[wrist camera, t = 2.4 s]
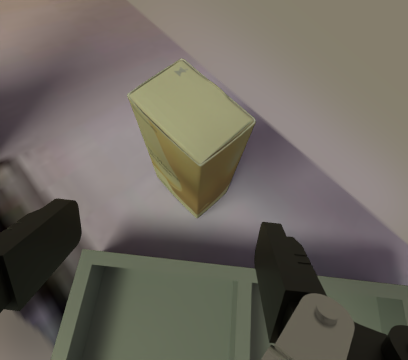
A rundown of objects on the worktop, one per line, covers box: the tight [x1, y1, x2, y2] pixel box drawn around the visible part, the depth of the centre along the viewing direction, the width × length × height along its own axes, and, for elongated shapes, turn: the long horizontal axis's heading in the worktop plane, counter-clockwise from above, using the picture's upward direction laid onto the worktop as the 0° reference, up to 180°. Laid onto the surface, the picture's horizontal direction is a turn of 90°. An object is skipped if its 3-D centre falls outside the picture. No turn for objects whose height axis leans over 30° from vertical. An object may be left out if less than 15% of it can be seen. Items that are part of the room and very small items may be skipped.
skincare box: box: [127, 59, 256, 218], centre depth 18 cm, size 6×4×12 cm
